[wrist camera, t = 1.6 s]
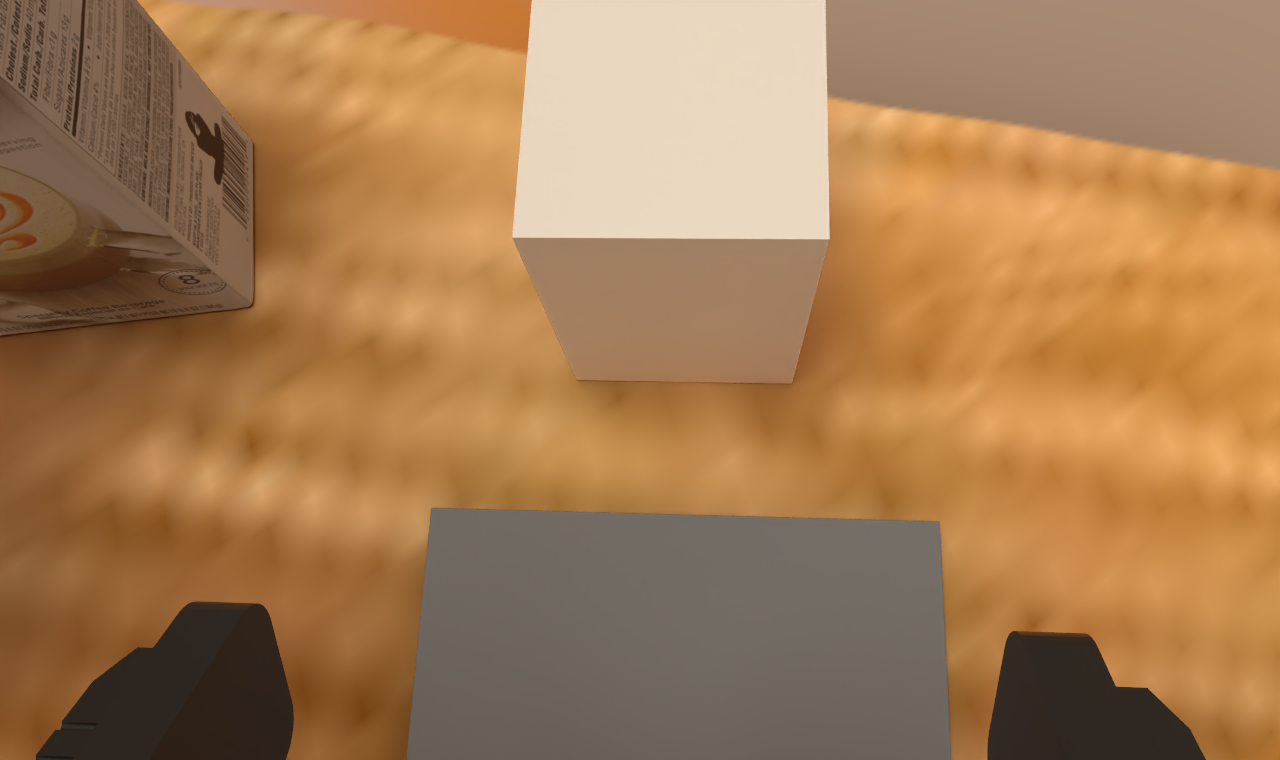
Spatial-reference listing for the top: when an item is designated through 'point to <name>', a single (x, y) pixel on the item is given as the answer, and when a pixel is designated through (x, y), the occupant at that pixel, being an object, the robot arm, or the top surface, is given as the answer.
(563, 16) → the white rectangular block
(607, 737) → the mat
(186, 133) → the coffee box
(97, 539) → the top surface
